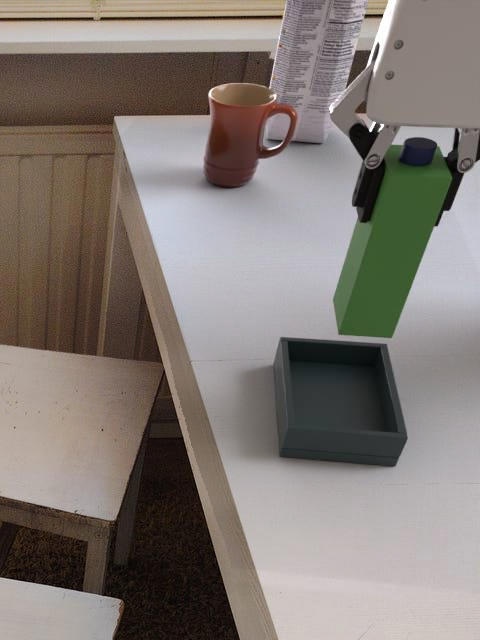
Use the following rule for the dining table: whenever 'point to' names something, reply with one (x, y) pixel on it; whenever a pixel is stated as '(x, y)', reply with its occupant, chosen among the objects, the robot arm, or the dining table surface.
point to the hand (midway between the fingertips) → (396, 214)
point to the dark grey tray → (337, 402)
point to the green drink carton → (391, 240)
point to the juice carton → (313, 64)
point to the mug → (241, 132)
